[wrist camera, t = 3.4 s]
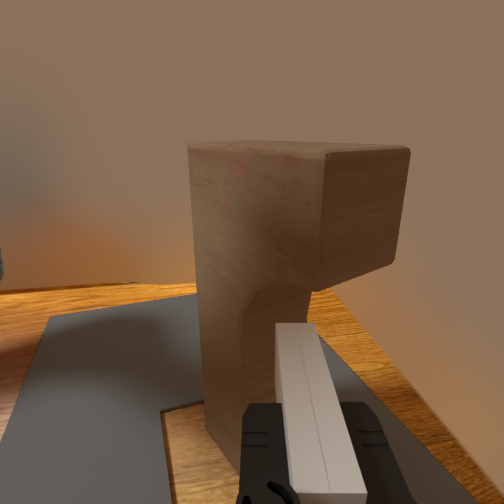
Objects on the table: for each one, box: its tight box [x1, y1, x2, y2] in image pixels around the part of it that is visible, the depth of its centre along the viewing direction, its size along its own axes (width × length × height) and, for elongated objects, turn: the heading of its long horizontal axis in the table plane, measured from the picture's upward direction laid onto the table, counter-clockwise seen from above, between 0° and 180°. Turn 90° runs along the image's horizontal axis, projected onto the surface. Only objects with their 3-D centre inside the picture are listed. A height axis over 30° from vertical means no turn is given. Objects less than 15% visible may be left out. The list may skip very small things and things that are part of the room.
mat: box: [0, 294, 479, 504], centre depth 43 cm, size 50×41×1 cm
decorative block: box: [187, 140, 411, 476], centre depth 28 cm, size 15×8×30 cm, turn 36°
